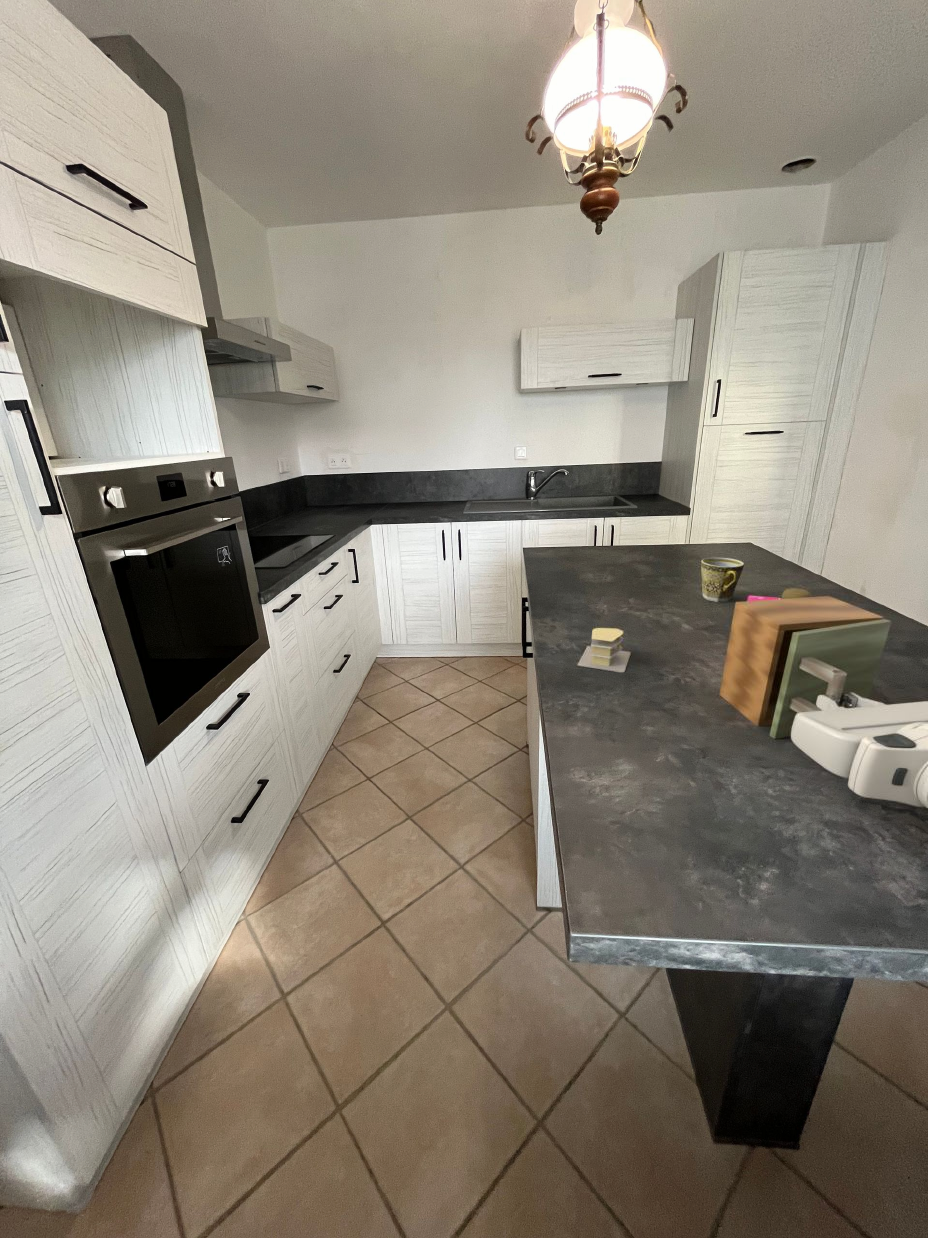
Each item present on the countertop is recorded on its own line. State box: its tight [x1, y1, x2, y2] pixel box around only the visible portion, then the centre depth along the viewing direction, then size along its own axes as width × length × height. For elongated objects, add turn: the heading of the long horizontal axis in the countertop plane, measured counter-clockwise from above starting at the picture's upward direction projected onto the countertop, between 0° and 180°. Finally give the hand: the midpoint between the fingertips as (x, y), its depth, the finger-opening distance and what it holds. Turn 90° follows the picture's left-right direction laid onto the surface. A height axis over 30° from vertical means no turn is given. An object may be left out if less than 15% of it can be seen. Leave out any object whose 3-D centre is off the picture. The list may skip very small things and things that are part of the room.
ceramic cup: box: [700, 557, 745, 603], centre depth 127 cm, size 13×10×10 cm
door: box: [769, 618, 892, 740], centre depth 68 cm, size 7×16×17 cm, turn 104°
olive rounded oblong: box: [781, 587, 813, 599], centre depth 103 cm, size 6×6×11 cm
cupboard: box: [719, 595, 885, 727], centre depth 77 cm, size 10×16×17 cm, turn 96°
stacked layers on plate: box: [577, 627, 632, 673], centre depth 98 cm, size 10×9×6 cm
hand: (833, 698), depth 64 cm, fingers closed
